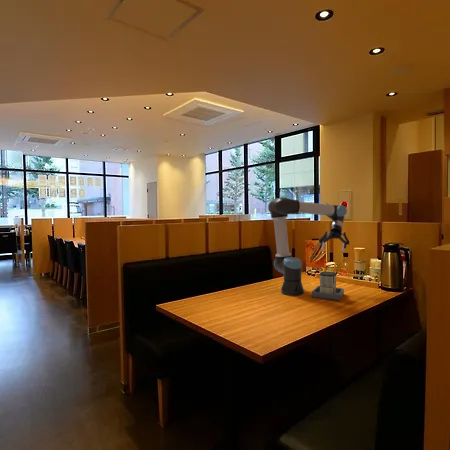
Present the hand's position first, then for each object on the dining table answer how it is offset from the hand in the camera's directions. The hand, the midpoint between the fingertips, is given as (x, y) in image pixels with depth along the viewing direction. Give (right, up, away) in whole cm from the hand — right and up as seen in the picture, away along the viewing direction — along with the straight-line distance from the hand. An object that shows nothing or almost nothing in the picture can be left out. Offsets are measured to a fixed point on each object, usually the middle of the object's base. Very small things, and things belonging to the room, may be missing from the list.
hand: (332, 251), depth 217 cm
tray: (-7, -28, -11) cm, 31 cm away
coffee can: (-7, -28, -11) cm, 30 cm away
